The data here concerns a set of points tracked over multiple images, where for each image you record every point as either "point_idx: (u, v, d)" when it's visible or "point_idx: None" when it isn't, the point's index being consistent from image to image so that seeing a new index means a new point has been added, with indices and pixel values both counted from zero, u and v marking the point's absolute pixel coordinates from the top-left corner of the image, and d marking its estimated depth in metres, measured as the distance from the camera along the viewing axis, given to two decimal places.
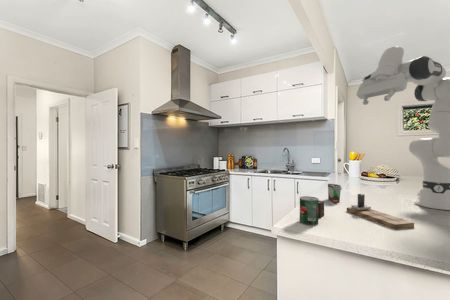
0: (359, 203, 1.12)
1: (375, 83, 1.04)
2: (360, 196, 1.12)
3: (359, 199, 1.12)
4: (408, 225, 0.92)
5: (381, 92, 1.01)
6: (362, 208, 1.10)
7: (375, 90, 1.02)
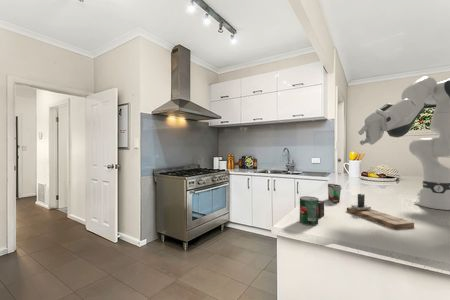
0: (359, 203, 1.12)
1: (379, 126, 1.11)
2: (360, 196, 1.12)
3: (359, 199, 1.12)
4: (408, 225, 0.92)
5: (368, 132, 1.15)
6: (362, 208, 1.10)
7: (371, 133, 1.12)
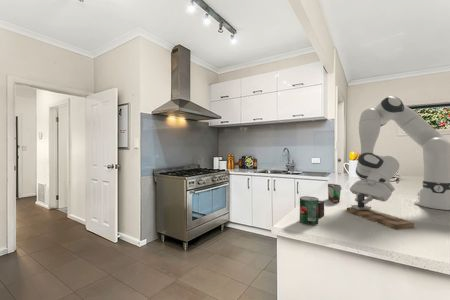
0: (359, 203, 1.12)
1: None
2: (360, 196, 1.12)
3: (359, 199, 1.12)
4: (408, 225, 0.92)
5: None
6: (362, 208, 1.10)
7: None
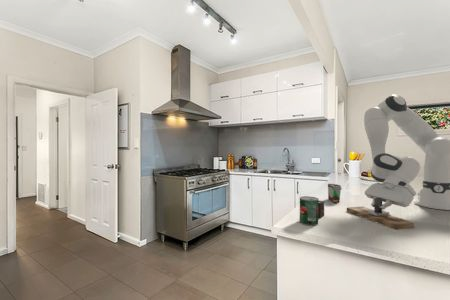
0: (376, 208, 1.03)
1: None
2: (377, 201, 1.02)
3: (376, 204, 1.03)
4: (408, 225, 0.92)
5: (381, 197, 1.05)
6: (380, 214, 1.01)
7: None
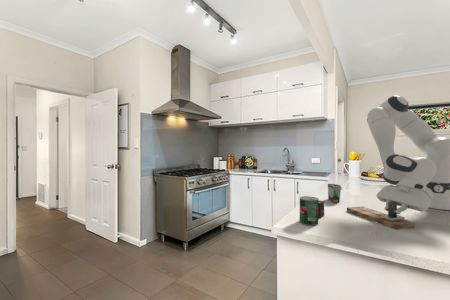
0: (390, 213, 0.96)
1: None
2: (392, 204, 0.96)
3: (390, 208, 0.96)
4: (408, 225, 0.92)
5: None
6: (395, 219, 0.94)
7: None
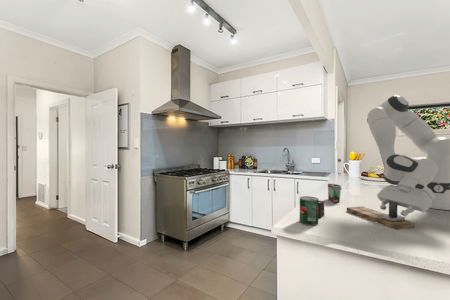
0: (391, 213, 0.96)
1: None
2: (392, 205, 0.95)
3: (391, 208, 0.96)
4: (408, 225, 0.92)
5: None
6: (395, 219, 0.94)
7: None
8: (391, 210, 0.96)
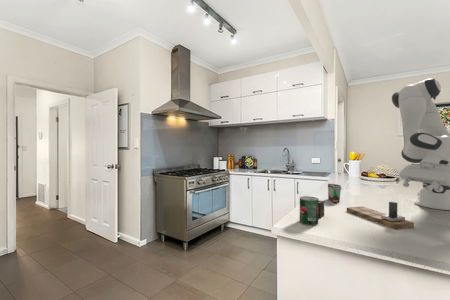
0: (391, 213, 0.96)
1: None
2: (392, 205, 0.95)
3: (391, 208, 0.96)
4: (408, 225, 0.92)
5: (419, 178, 1.01)
6: (395, 219, 0.94)
7: None
8: (391, 210, 0.96)
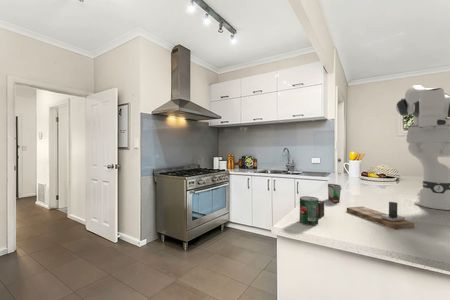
0: (391, 213, 0.96)
1: None
2: (392, 205, 0.95)
3: (391, 208, 0.96)
4: (408, 225, 0.92)
5: None
6: (395, 219, 0.94)
7: None
8: (391, 210, 0.96)
